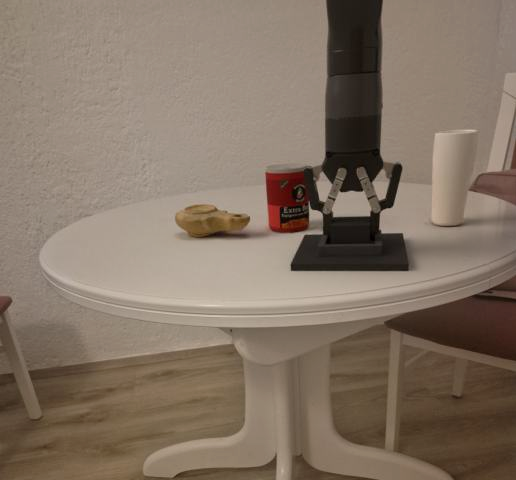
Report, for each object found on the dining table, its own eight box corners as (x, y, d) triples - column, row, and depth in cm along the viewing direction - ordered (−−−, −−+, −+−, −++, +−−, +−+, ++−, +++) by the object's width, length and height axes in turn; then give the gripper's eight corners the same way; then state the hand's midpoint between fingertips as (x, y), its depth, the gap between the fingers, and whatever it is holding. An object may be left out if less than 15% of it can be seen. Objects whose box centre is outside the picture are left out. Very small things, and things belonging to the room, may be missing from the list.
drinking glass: (441, 217, 90) (450, 129, 83) (475, 222, 85) (487, 129, 78) (418, 224, 86) (425, 133, 79) (451, 230, 81) (462, 133, 74)
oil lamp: (251, 238, 85) (249, 210, 83) (171, 244, 86) (167, 216, 83) (251, 225, 95) (249, 199, 92) (179, 230, 95) (175, 204, 93)
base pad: (402, 239, 78) (403, 223, 77) (408, 270, 65) (409, 252, 63) (304, 240, 82) (304, 225, 81) (290, 270, 68) (290, 253, 67)
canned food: (283, 235, 86) (280, 170, 81) (260, 227, 92) (256, 167, 87) (318, 227, 89) (317, 164, 84) (294, 220, 95) (292, 162, 90)
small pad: (369, 235, 74) (370, 216, 73) (369, 245, 69) (370, 224, 68) (333, 236, 75) (333, 216, 74) (330, 246, 71) (330, 225, 69)
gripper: (296, 118, 63) (300, 245, 70) (410, 110, 60) (401, 244, 67) (303, 115, 69) (306, 232, 77) (407, 108, 66) (399, 230, 74)
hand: (351, 237), depth 72 cm, fingers closed on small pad, 5 cm apart
